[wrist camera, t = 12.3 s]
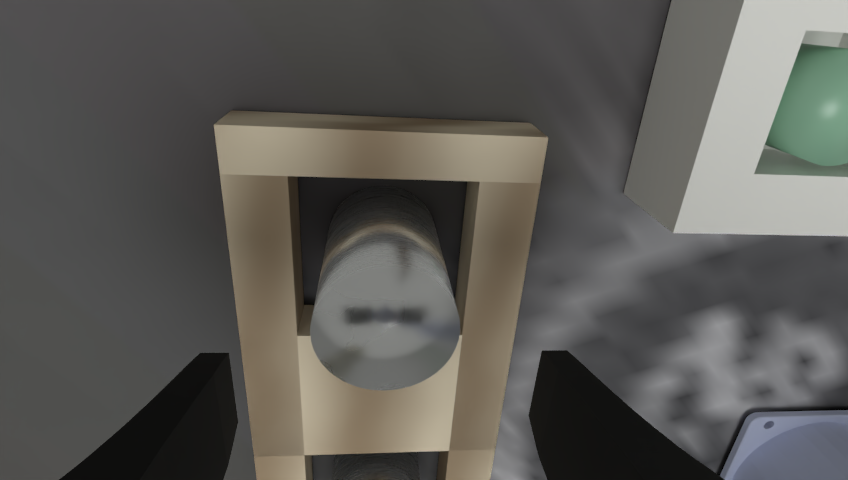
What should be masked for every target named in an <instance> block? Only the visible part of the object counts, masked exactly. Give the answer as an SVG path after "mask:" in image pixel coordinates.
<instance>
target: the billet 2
mask: <svg viewBox="0 0 848 480" xmlns="http://www.w3.org/2000/svg"><path fill="white" fill-rule="evenodd" d="M333 480H420V477H419V467H418V457H417V453H416V452H396V453H363V454H336V456H335V459H334V468H333Z"/></svg>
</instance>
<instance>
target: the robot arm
mask: <svg viewBox="0 0 848 480" xmlns="http://www.w3.org/2000/svg"><path fill="white" fill-rule="evenodd" d="M529 418H530V422H531V427H532V431H533V435H534V439H535V443H536V447H537V451H538V455H539V458H540V461H541V463H542V466H543V469H544V471H545V474H546V477H547V479H548V480H848V410H827V411H785V412H755V413H752V414H750V415H749V416H747V418H746V419H745V421H744V424H743V426H742V428H741V430H740V432H739V434H738V437H737V439H736V441H735V443H734V445H733V448H732V450H731V452H730V454H729V456H728V459H727V461H726V463H725V465H724V467H723V470H722V472H721V474H720V476H719V475H717V474H716V473H714V472H713V471H712V470H710V469H709V468H707V467H706V466H704V465H703V464H702V463H700V462H699V461H697V460H696V459H694V458H693V457H692V456H690V455H689V454H687V453H686V452H685V451H683V450H682V449H681V448H679V447H678V446H677V445H675V444H674V443H673V442H672V441H670V440H669V439H668V438H667V437H665V436H664V435H663V434H662V433H660V432H659V431H658V430H657V429H655V428H654V427H653V426H651V425H650V424H649V423H648V422H647V421H645V420H644V419H643V418H642V417H641V416H639V415H638V414H637V413H636V412H635V411H634V410H632V409H631V408H630V407H629V406H628V405H627V404H626V403H624V402H623V401H622V400H621V399H620V398H619V397H618V396H617V395H615V394H614V393H613V392H612V391H611V390H610V389H609V388H608V387H607V386H605V385H604V384H603V383H602V382H601V381H600V380H599V379H598V378H597V377H596V376H594V375H593V374H592V373H591V372H590V371H589V370H588V369H587V368H586V367H585V366H584V365H583V364H581V363H580V362H579V361H578V360H577V359H576V358H575V357H574V356H572V355H571V354H570V353H569V352H568V351H542V353H541V358H540V363H539V368H538V373H537V378H536V382H535V387H534V392H533V397H532V402H531V407H530V412H529ZM237 423H238V419H237V411H236V404H235V396H234V389H233V382H232V374H231V367H230V359H229V353H200V354H199V355H198V356H197V357H195V358H194V359H193V360H192V361H191V362H190V363H189V364H188V365H187V366H186V367H185V368H184V369H183V370H182V371H181V372H180V373H179V374H178V375H177V376H176V377H175V378H174V379H173V380H172V381H171V382H170V383H169V384H168V385H167V386H166V387H165V388H164V389H163V390H162V391H161V392H160V393H158V394H157V395H156V396H155V397H154V398H153V399H152V400H151V401H150V402H149V403H148V404H147V405H146V406H145V407H144V408H143V409H142V410H140V411H139V412H138V413H137V414H136V415H135V416H134V417H133V418H132V419H131V420H130V421H129V422H128V423H126V424H125V425H124V426H123V427H122V428H121V429H120V430H119V431H117V432H116V433H115V434H114V435H113V436H112V437H111V438H109V439H108V440H107V441H106V442H105V443H104V444H102V445H101V446H100V447H99V448H98V449H97V450H95V451H94V452H93V453H92V454H91V455H90V456H88V457H87V458H86V459H85V460H84V461H82V462H81V463H80V464H79V465H77V466H76V467H75V468H74V469H72V470H71V471H70V472H69V473H67V474H66V475H65V476H63V477H62V478H61V479H59V480H223V478H224V475H225V472H226V470H227V467H228V463H229V459H230V455H231V450H232V446H233V442H234V437H235V432H236V428H237Z"/></svg>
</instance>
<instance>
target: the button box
mask: <svg viewBox="0 0 848 480" xmlns="http://www.w3.org/2000/svg"><path fill="white" fill-rule="evenodd" d="M801 43H803V44H812V45H821V46H830V47H839V48H848V0H671V4H670V8H669V12H668V16H667V20H666V24H665V28H664V32H663V36H662V40H661V44H660V48H659V52H658V56H657V60H656V64H655V68H654V72H653V76H652V80H651V84H650V88H649V92H648V96H647V100H646V104H645V108H644V112H643V116H642V120H641V124H640V129H639V133H638V137H637V141H636V145H635V149H634V153H633V157H632V161H631V165H630V169H629V173H628V177H627V181H626V185H625V189H624V193H623V194H624V195H626V196H627V197H628V198H629V199H631V200H632V201H633V202H635V203H636V204H637V205H638V206H640V207H641V208H642V209H643V210H645V211H646V212H647V213H648V214H650V215H651V216H652V217H653V218H655V219H656V220H657V221H659V222H660V223H661V224H662V225H664V226H665V227H666V228H667V229H669V230H670V231H671V232H672V233H697V234H753V235H809V236H848V163H845V164H842V165H836V166H821V165H818V164H814V163H812V162H809V161H806V160H804V159H801V158H798V157H796V156H793V155H791V154H788V153H785V152H783V151H780V150H777V149H775V148H772V147H770V146H767V145H765V142H766V140H767V137H768V134H769V131H770V129H771V126H772V123H773V120H774V118H775V115H776V112H777V109H778V107H779V104H780V101H781V98H782V96H783V93H784V90H785V87H786V84H787V82H788V79H789V76H790V73H791V71H792V68H793V65H794V62H795V60H796V57H797V54H798V51H799V49H800V46H801Z"/></svg>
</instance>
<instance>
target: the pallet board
mask: <svg viewBox="0 0 848 480" xmlns="http://www.w3.org/2000/svg"><path fill="white" fill-rule="evenodd" d="M214 131H215V139H216V147H217V155H218V164H219V172H220V180H221V188H222V196H223V205H224V213H225V221H226V229H227V238H228V246H229V254H230V262H231V270H232V279H233V287H234V295H235V303H236V312H237V320H238V328H239V336H240V344H241V353H242V361H243V369H244V377H245V386H246V394H247V402H248V410H249V418H250V427H251V435H252V443H253V451H254V460H255V468H256V476H257V480H313V468H312V455H330V454H363V453H396V452H429V451H439V460H438V469H437V479H436V480H490V477H491V471H492V465H493V459H494V454H495V448H496V442H497V436H498V430H499V424H500V418H501V412H502V407H503V401H504V395H505V389H506V383H507V377H508V371H509V366H510V360H511V354H512V348H513V342H514V336H515V330H516V325H517V319H518V313H519V307H520V301H521V295H522V289H523V283H524V278H525V272H526V266H527V260H528V254H529V248H530V242H531V237H532V231H533V225H534V219H535V213H536V207H537V201H538V196H539V190H540V184H541V178H542V172H543V166H544V160H545V154H546V149H547V143H548V137H547V136H546V135H545V134H543V133H542V132H541V131H540V130H538V129H537V128H536V127H535V126H534V125H532V124H531V123H521V122H497V121H473V120H449V119H425V118H401V117H377V116H353V115H329V114H305V113H281V112H257V111H234V110H231V111H230V112H229V113H228V114H226V115H225V116H224V117H223V118H221V119H220V120H219V121H218V122H216V123H215V124H214ZM298 176H300V177H335V178H371V179H406V180H441V181H467V189H466V198H465V208H464V218H463V227H462V237H461V247H460V256H459V266H458V276H457V286H456V295H455V303H456V307H457V311H458V314H459V319H460V335H459V340H458V343H457V346H456V349H455V351H454V353H453V354H452V356H451V358H450V359H449V360H448V362H447V363H446V364H445V365H444V366H443V367H442V368H441V369H440V370H439V371H438V372H437V373H435V374H434V375H432V376H431V377H429V378H428V379H426V380H424V381H422V382H420V383H418V384H415V385H413V386H410V387H406V388H402V389H396V390H386V391H382V390H369V389H364V388H360V387H356V386H353V385H351V384H348V383H346V382H344V381H342V380H340V379H339V378H337V377H336V376H334V375H333V374H332V373H330V372H329V371H328V370H327V369H326V368H325V367H324V366H323V365H322V363H321V362H320V360H319V359H318V357H317V356H316V354H315V352H314V349H313V346H312V343H311V336H310V325H311V320H312V315H313V309H314V305H304V292H303V273H302V253H301V234H300V214H299V195H298Z"/></svg>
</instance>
